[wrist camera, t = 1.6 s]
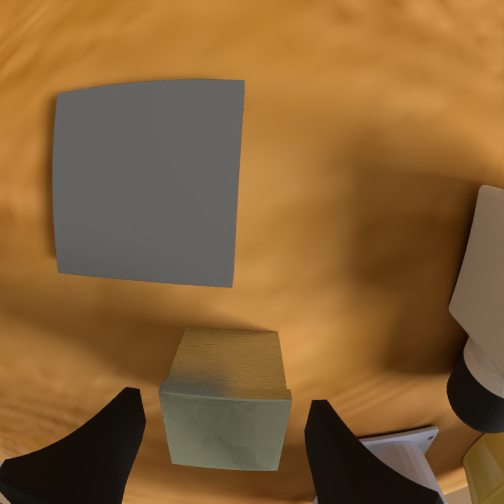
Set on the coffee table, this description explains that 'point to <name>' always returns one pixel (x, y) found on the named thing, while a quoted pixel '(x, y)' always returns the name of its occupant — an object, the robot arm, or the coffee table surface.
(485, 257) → the medicine bottle
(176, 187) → the block
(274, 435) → the grey green cube
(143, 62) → the coffee table surface
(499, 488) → the plant pot
